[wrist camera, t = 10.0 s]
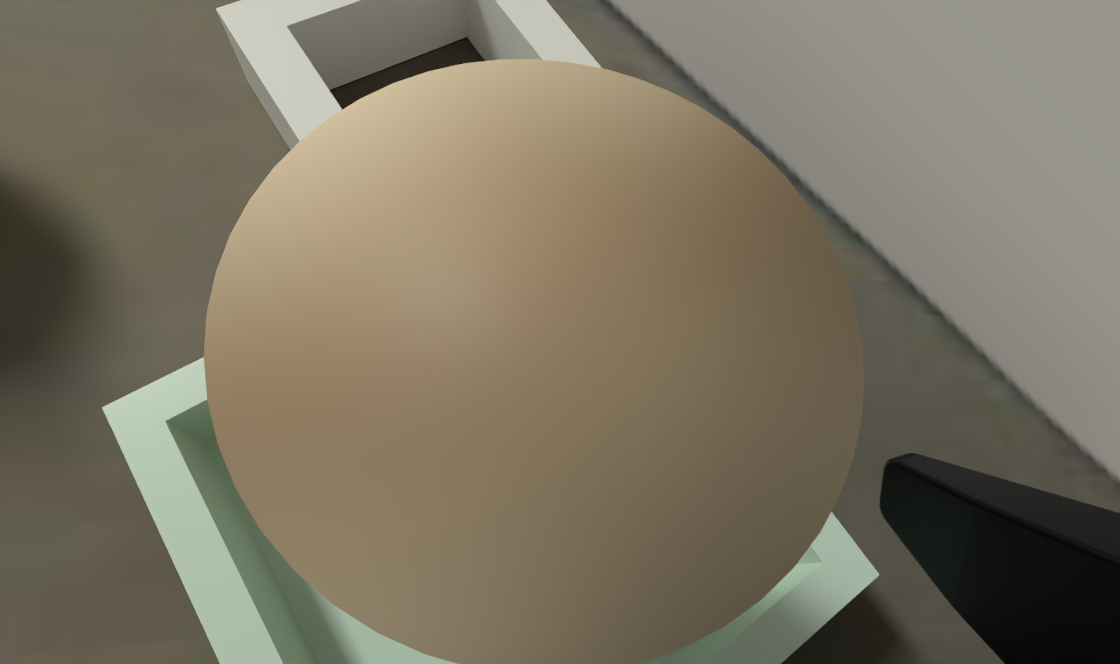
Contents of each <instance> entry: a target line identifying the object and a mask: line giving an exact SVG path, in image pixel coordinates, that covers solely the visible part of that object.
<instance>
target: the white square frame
mask: <svg viewBox="0 0 1120 664" xmlns="http://www.w3.org/2000/svg"><path fill="white" fill-rule="evenodd" d="M216 10H217V13H218V15H219V17H220V19H221V22H222V24H223V26H224V29H225V31H226V33H227V35H228V38H229V40H230V42H231V44H232V47H233V49H234V51H235V53H236V56H237V58H238V60H239V63H240V65H241V67H242V69H243V72H244V74H245V76H246V78H247V81H248V83H249V84H250V86H251V88H252V89H253V91H254V92H255V94H256V96H257V97H258V99H259V100H260V102H261V104H262V105H263V107H264V108H265V110H266V112H267V113H268V115H269V116H270V118H271V120H272V121H273V123H274V124H275V126H276V128H277V129H278V131H279V132H280V134H281V136H282V137H283V139H284V140H285V142H286V144H287V145H288V147H289V148H290V150H292V149H293V148H294V147H295V146H296V145H297V144H298V142H299V141H301V140H302V139H303V138H304V137H306V136H307V135H308V134H309V133H311V132H312V131H313V130H315V129H316V128H317V127H318V126H320V125H321V124H322V123H323V122H325V121H326V120H327V119H328V118H330V117H331V116H333V115H335V114H336V113H338V112H339V111H341V110H342V108H341V107H340V105H339V104H338V102H337V101H336V99H335V98H334V96H333V95H332V93H331V92H330V90H331V89H333V88H336V87H339V86H341V85H344V84H346V83H349V82H352V81H354V80H357V79H359V78H362V77H364V76H367V75H370V74H372V73H375V72H377V71H380V70H383V69H385V68H388V67H390V66H393V65H395V64H398V63H401V62H403V61H406V60H408V59H411V58H414V57H416V56H419V55H421V54H424V53H427V52H429V51H432V50H434V49H437V48H439V47H442V46H445V45H447V44H450V43H452V42H455V41H458V40H460V39H463V38H465V37H467V38H468V39H469V41H470V42H471V43H472V44H473V46H474V47H475V48H476V50H477V51H478V52H479V54H480V55H481V56H482V58H483V59H484V60H485V61H490V60H499V59H539V60H551V61H562V62H572V63H577V64H582V65H587V66H592V67H598V68H601V66H600V65H599V64H598V63H597V61H596V60H595V59H594V58H593V57H592V55H591V54H590V53H589V52H588V51H587V49H586V48H585V47H584V46H583V45H582V43H581V42H580V41H579V40H578V39H577V37H576V36H575V35H574V34H573V33H572V31H571V30H570V29H569V28H568V26H567V25H566V24H565V23H564V22H563V20H562V19H561V18H560V17H559V16H558V14H557V13H556V12H555V11H554V10H553V8H552V7H551V6H550V5H549V4H548V2H547V1H546V0H241V1H238V2H234V3H231V4H228V5H225V6H222V7H219V8H216Z"/></svg>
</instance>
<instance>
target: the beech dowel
mask: <svg viewBox="0 0 1120 664" xmlns="http://www.w3.org/2000/svg"><path fill="white" fill-rule="evenodd" d="M204 367H205V379H206V391H207V402H208V406H209V410H210V414H211V418H212V422H213V427H214V431H215V435H216V439H217V443H218V447H219V449H220V452H221V454H222V456H223V459H224V461H225V464H226V466H227V469H228V471H229V473H230V476H231V478H232V481H233V483H234V486H235V488H236V490H237V492H238V493H239V495H240V497H241V498H242V500H243V502H244V503H245V505H246V507H247V508H248V510H249V512H250V513H251V515H252V517H253V518H254V520H255V522H256V523H257V525H258V526H259V528H260V530H261V531H262V533H263V534H264V535H265V536H266V537H267V539H268V540H269V541H270V542H271V543H272V545H273V546H274V547H275V548H276V549H277V551H278V552H279V553H280V554H281V555H282V557H283V558H284V559H285V560H286V561H287V563H288V564H289V565H290V566H291V567H292V568H293V570H294V571H295V572H297V573H298V574H299V575H300V576H301V577H302V578H303V579H304V580H306V581H307V582H308V583H309V584H310V585H311V586H312V587H314V588H315V589H316V590H317V591H318V592H319V593H320V594H322V595H323V596H324V597H325V598H326V599H327V600H328V601H329V602H331V603H332V604H333V605H334V606H336V607H338V608H339V609H341V610H342V611H344V612H345V613H347V614H348V615H350V616H352V617H353V618H355V619H356V620H358V621H359V622H361V623H362V624H364V625H366V626H367V627H369V628H370V629H372V630H373V631H375V632H377V633H378V634H381V635H383V636H385V637H387V638H390V639H392V640H394V641H396V642H399V643H401V644H403V645H405V646H407V647H410V648H412V649H414V650H416V651H419V652H421V653H423V654H425V655H429V656H432V657H436V658H439V659H443V660H447V661H450V662H454V663H457V664H639V663H642V662H645V661H648V660H651V659H654V658H656V657H659V656H662V655H665V654H668V653H671V652H674V651H677V650H680V649H682V648H684V647H686V646H688V645H690V644H692V643H694V642H696V641H698V640H700V639H702V638H704V637H706V636H707V635H709V634H711V633H713V632H715V631H717V630H719V629H721V628H723V627H725V626H726V625H727V624H729V623H730V622H731V621H733V620H734V619H736V618H737V617H738V616H740V615H741V614H742V613H744V612H745V611H747V610H748V609H749V608H751V607H752V606H754V605H755V604H756V603H758V602H759V601H760V600H762V599H763V598H764V597H765V596H766V595H767V594H768V593H769V592H770V591H771V590H772V589H773V588H774V587H775V586H776V585H777V584H778V583H779V582H780V581H781V580H782V579H783V578H784V577H785V576H786V575H787V574H788V573H789V572H790V571H791V570H792V569H793V568H794V567H795V566H796V564H797V563H798V562H799V560H800V559H801V558H802V556H803V555H804V554H805V552H806V551H807V550H808V548H809V547H810V546H811V544H812V543H813V542H814V540H815V539H816V537H817V536H818V535H819V533H820V532H821V530H822V528H823V526H824V524H825V523H826V521H827V519H828V517H829V515H830V513H831V511H832V510H833V508H834V506H835V504H836V502H837V500H838V498H839V496H840V494H841V491H842V489H843V486H844V483H845V480H846V478H847V475H848V472H849V469H850V466H851V464H852V461H853V458H854V454H855V449H856V445H857V440H858V435H859V430H860V425H861V420H862V411H863V395H864V379H865V378H864V364H863V350H862V339H861V334H860V329H859V324H858V319H857V314H856V309H855V304H854V301H853V298H852V295H851V292H850V289H849V286H848V283H847V280H846V277H845V274H844V271H843V268H842V266H841V264H840V262H839V260H838V258H837V256H836V254H835V252H834V249H833V247H832V245H831V243H830V241H829V239H828V237H827V235H826V233H825V232H824V230H823V228H822V227H821V225H820V224H819V222H818V220H817V219H816V217H815V216H814V214H813V212H812V211H811V209H810V208H809V206H808V205H807V203H806V202H805V201H804V199H803V198H802V197H801V196H800V194H799V193H798V192H797V191H796V189H795V188H794V187H793V186H792V184H791V183H790V182H789V181H788V179H787V178H786V177H785V176H784V175H783V174H782V173H781V172H780V171H779V170H778V169H777V168H776V167H775V166H774V165H773V164H772V163H771V162H770V160H769V159H768V158H767V157H766V156H765V155H764V154H763V153H762V152H761V151H760V150H758V149H757V148H756V147H755V146H753V145H752V144H751V143H750V142H749V141H747V140H746V139H745V138H744V137H742V136H741V135H740V134H739V133H738V132H736V131H735V130H734V129H733V128H731V127H730V126H728V125H727V124H725V123H724V122H722V121H721V120H719V119H718V118H716V117H715V116H713V115H712V114H710V113H709V112H707V111H706V110H704V109H703V108H701V107H699V106H697V105H695V104H693V103H691V102H689V101H687V100H685V99H684V98H682V97H680V96H678V95H676V94H674V93H672V92H670V91H667V90H665V89H662V88H660V87H658V86H655V85H653V84H650V83H648V82H645V81H643V80H640V79H637V78H634V77H631V76H627V75H624V74H621V73H617V72H614V71H610V70H607V69H603V68H598V67H592V66H587V65H582V64H577V63H572V62H562V61H551V60H539V59H499V60H490V61H481V62H473V63H464V64H459V65H455V66H450V67H446V68H441V69H437V70H432V71H428V72H425V73H422V74H419V75H416V76H413V77H410V78H407V79H404V80H401V81H398V82H395V83H393V84H391V85H388V86H386V87H384V88H382V89H380V90H378V91H376V92H373V93H371V94H369V95H367V96H365V97H363V98H361V99H359V100H357V101H356V102H354V103H352V104H351V105H349V106H348V107H346V108H344V109H343V110H341V111H339V112H338V113H336V114H335V115H333V116H331V117H330V118H328V119H327V120H326V121H325V122H323V123H322V124H321V125H320V126H318V127H317V128H316V129H315V130H313V131H312V132H311V133H309V134H308V135H307V136H306V137H304V138H303V139H302V140H301V141H299V142H298V144H297V145H296V146H295V147H294V148H293V149H292V150H291V151H290V152H289V153H288V154H287V155H286V156H285V157H284V158H283V159H282V160H281V161H280V162H279V163H278V164H277V165H276V166H275V167H274V168H273V169H272V171H271V172H270V173H269V175H268V176H267V177H266V179H265V180H264V181H263V183H262V184H261V185H260V187H259V188H258V189H257V191H256V192H255V193H254V195H253V196H252V197H251V199H250V200H249V202H248V204H247V205H246V207H245V209H244V211H243V213H242V215H241V216H240V218H239V220H238V222H237V224H236V225H235V227H234V229H233V231H232V233H231V234H230V237H229V239H228V242H227V245H226V247H225V250H224V253H223V255H222V258H221V260H220V263H219V266H218V268H217V271H216V274H215V278H214V283H213V287H212V292H211V296H210V301H209V305H208V310H207V316H206V330H205V345H204Z"/></svg>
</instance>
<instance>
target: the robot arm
mask: <svg viewBox="0 0 1120 664" xmlns="http://www.w3.org/2000/svg"><path fill="white" fill-rule="evenodd" d="M879 506H880V510H881V513H882V515H883V517H884V519H885V520H886V522H887V523H888V524H889V526H890V527H891V528H892V530H893V531H894V532H895V533H896V535H897V536H898V537H899V539H900V540H901V541H902V542H903V544H904V545H905V546H906V548H907V549H908V550H909V551H910V553H911V554H912V555H913V557H914V558H915V559H916V560H917V562H918V563H919V564H920V566H921V567H922V568H923V569H924V571H925V572H926V573H927V575H928V576H929V577H930V579H931V580H932V581H933V582H934V584H935V585H936V586H937V588H938V589H939V590H940V591H941V593H942V594H943V595H944V596H945V598H946V599H947V600H948V601H949V603H950V604H951V605H952V606H953V607H954V609H955V610H956V611H957V612H958V613H959V614H960V615H961V616H962V618H963V619H964V620H965V621H966V622H967V623H968V624H969V625H970V626H971V627H972V629H973V630H974V631H975V632H976V633H977V634H978V635H979V636H980V637H981V638H982V639H983V640H984V642H985V643H986V644H987V645H988V646H989V647H990V648H991V649H992V650H993V651H994V652H995V653H996V655H997V656H998V657H999V658H1000V659H1001V660H1002V661H1003V662H1004V663H1005V664H1120V513H1118V512H1114V511H1111V510H1107V509H1104V508H1101V507H1097V506H1094V505H1090V504H1087V503H1083V502H1080V501H1077V500H1073V499H1070V498H1066V497H1063V496H1059V495H1056V494H1053V493H1049V492H1046V491H1042V490H1039V489H1035V488H1032V487H1029V486H1025V485H1022V484H1018V483H1015V482H1012V481H1008V480H1005V479H1001V478H998V477H994V476H991V475H988V474H984V473H981V472H977V471H974V470H971V469H967V468H964V467H960V466H957V465H953V464H950V463H947V462H943V461H940V460H936V459H933V458H929V457H926V456H923V455H919V454H915V453H909V454H905V455H901V456H898V457H895V458H892V459H889V460H888V461H887V462H886V463H885V465H884V468H883V474H882V482H881V490H880V498H879Z"/></svg>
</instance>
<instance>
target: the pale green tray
mask: <svg viewBox="0 0 1120 664" xmlns="http://www.w3.org/2000/svg"><path fill="white" fill-rule="evenodd" d="M102 408H103V411H104V413H105V415H106V417H107V419H108V421H109V424H110V426H111V428H112V430H113V432H114V435H115V437H116V439H117V441H118V443H119V445H120V448H121V450H122V452H123V454H124V456H125V458H126V461H127V463H128V465H129V467H130V469H131V471H132V474H133V476H134V478H135V480H136V482H137V484H138V487H139V489H140V491H141V493H142V495H143V498H144V500H145V502H146V504H147V506H148V508H149V511H150V513H151V515H152V517H153V519H154V521H155V524H156V526H157V528H158V530H159V532H160V534H161V537H162V539H163V541H164V543H165V545H166V547H167V550H168V552H169V554H170V556H171V558H172V561H173V563H174V565H175V567H176V569H177V571H178V574H179V576H180V578H181V580H182V582H183V584H184V587H185V589H186V591H187V593H188V595H189V597H190V600H191V602H192V604H193V606H194V608H195V610H196V613H197V615H198V617H199V619H200V621H201V623H202V626H203V628H204V630H205V632H206V634H207V637H208V639H209V641H210V643H211V645H212V647H213V650H214V652H215V654H216V656H217V658H218V660H219V663H220V664H457V663H454V662H450V661H447V660H443V659H439V658H436V657H432V656H429V655H425V654H423V653H421V652H419V651H416V650H414V649H412V648H410V647H407V646H405V645H403V644H401V643H399V642H396V641H394V640H392V639H390V638H387V637H385V636H383V635H381V634H378V633H377V632H375V631H373V630H372V629H370V628H369V627H367V626H366V625H364V624H362V623H361V622H359V621H358V620H356V619H355V618H353V617H352V616H350V615H348V614H347V613H345V612H344V611H342V610H341V609H339V608H338V607H336V606H334V605H333V604H332V603H331V602H329V601H328V600H327V599H326V598H325V597H324V596H323V595H322V594H320V593H319V592H318V591H317V590H316V589H315V588H314V587H312V586H311V585H310V584H309V583H308V582H307V581H306V580H304V579H303V578H302V577H301V576H300V575H299V574H298V573H297V572H295V571H294V570H293V568H292V567H291V566H290V565H289V564H288V563H287V561H286V560H285V559H284V558H283V557H282V555H281V554H280V553H279V552H278V551H277V549H276V548H275V547H274V546H273V545H272V543H271V542H270V541H269V540H268V539H267V537H266V536H265V535H264V534H263V533H262V531H261V530H260V528H259V526H258V525H257V523H256V522H255V520H254V518H253V517H252V515H251V513H250V512H249V510H248V508H247V507H246V505H245V503H244V502H243V500H242V498H241V497H240V495H239V493H238V492H237V490H236V488H235V486H234V483H233V481H232V478H231V476H230V473H229V471H228V469H227V466H226V464H225V461H224V459H223V456H222V454H221V452H220V449H219V447H218V443H217V439H216V435H215V431H214V427H213V422H212V418H211V414H210V410H209V406H208V402H207V391H206V379H205V367H204V357H203V358H201V359H199V360H197V361H195V362H193V363H191V364H189V365H187V366H185V367H183V368H181V369H179V370H177V371H175V372H173V373H171V374H169V375H167V376H165V377H163V378H161V379H159V380H157V381H155V382H153V383H151V384H149V385H147V386H145V387H143V388H140V389H138V390H136V391H134V392H132V393H130V394H128V395H126V396H124V397H122V398H120V399H118V400H116V401H114V402H112V403H110V404H108V405H106V406H104V407H102ZM878 576H879V573H878V572H877V571H876V569H875V568H874V567H873V565H872V564H871V563H870V562H869V560H868V559H867V558H866V556H865V555H864V554H863V552H862V551H861V550H860V549H859V547H858V546H857V545H856V543H855V542H854V541H853V539H852V538H851V537H850V535H849V534H848V533H847V532H846V530H845V529H844V528H843V526H842V525H841V524H840V522H839V521H838V520H837V519H836V517H835V516H834V515H833V513H832V512H831V513H830V515H829V517H828V519H827V521H826V523H825V524H824V526H823V528H822V530H821V532H820V533H819V535H818V536H817V537H816V539H815V540H814V542H813V543H812V544H811V546H810V547H809V548H808V550H807V551H806V552H805V554H804V555H803V556H802V558H801V559H800V560H799V562H798V563H797V564H796V566H795V567H794V568H793V569H792V570H791V571H790V572H789V573H788V574H787V575H786V576H785V577H784V578H783V579H782V580H781V581H780V582H779V583H778V584H777V585H776V586H775V587H774V588H773V589H772V590H771V591H770V592H769V593H768V594H767V595H766V596H765V597H764V598H763V599H762V600H760V601H759V602H758V603H756V604H755V605H754V606H752V607H751V608H749V609H748V610H747V611H745V612H744V613H742V614H741V615H740V616H738V617H737V618H736V619H734V620H733V621H731V622H730V623H729V624H727V625H726V626H725V627H723V628H721V629H719V630H717V631H715V632H713V633H711V634H709V635H707V636H706V637H704V638H702V639H700V640H698V641H696V642H694V643H692V644H690V645H688V646H686V647H684V648H682V649H680V650H677V651H674V652H671V653H668V654H665V655H662V656H659V657H656V658H654V659H651V660H648V661H645V662H642V663H639V664H781V663H782V662H783V661H784V660H786V659H787V658H788V657H789V656H790V655H791V654H792V653H793V652H794V651H796V650H797V649H798V648H799V647H800V646H801V645H802V644H803V643H804V642H806V641H807V640H808V639H809V638H810V637H811V636H812V635H813V634H814V633H816V632H817V631H818V630H819V629H820V628H821V627H822V626H823V625H824V624H826V623H827V622H828V621H829V620H830V619H831V618H832V617H833V616H834V615H835V614H837V613H838V612H839V611H840V610H841V609H842V608H843V607H844V606H845V605H847V604H848V603H849V602H850V601H851V600H852V599H853V598H854V597H855V596H857V595H858V594H859V593H860V592H861V591H862V590H863V589H864V588H865V587H867V586H868V585H869V584H870V583H871V582H872V581H873V580H874V579H875V578H877V577H878Z"/></svg>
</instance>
